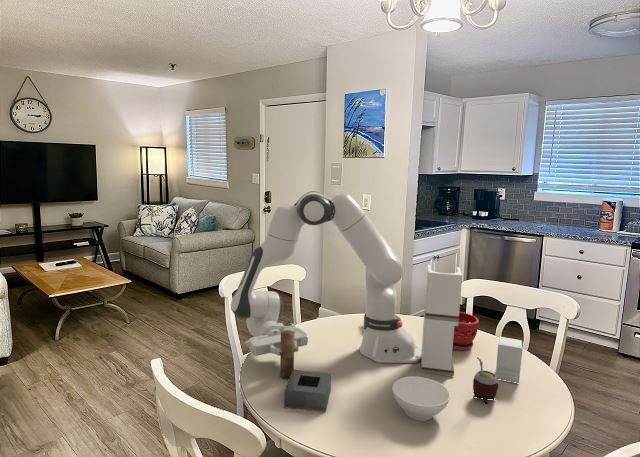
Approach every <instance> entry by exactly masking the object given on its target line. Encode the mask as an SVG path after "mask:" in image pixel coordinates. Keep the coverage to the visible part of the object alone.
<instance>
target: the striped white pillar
mask: <svg viewBox="0 0 640 457" xmlns="http://www.w3.org/2000/svg"><path fill="white" fill-rule="evenodd" d="M431 267H432V266H431V264H427V269H426V270H427V271H426V282H425V283H426V286H425V296H424V298H425V299H424V311H423V323H422V324H423V325H422V327H423V328H422V339H421V340H422V341H421V351H420V353H421V358H420V372H421V373H423V374H429V373H431V374H430V375H437V374H440V375H439V376H444V375H450V376H449V377H452V376H455V369H454V368H455V367H454V362H453V336H454V326H458V322H459V321H460V319H459V312H460V310H461V307H460V306H461V296H462V284H463V283H462V282H463V273H462V271H461V270H462V269H461V268H460V267H459V266H456V269H455V272H453V273H448V272H445V273H444V272H438V271H434V269H432V268H431Z"/></svg>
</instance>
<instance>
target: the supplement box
mask: <svg viewBox="0 0 640 457" xmlns="http://www.w3.org/2000/svg"><path fill="white" fill-rule="evenodd" d="M522 356H523V340H521V339H515V338H510V337H509V338H508V337H505V336H499V338H498V344H497V354H496V368H495V375H496V377H497V379H501V380H506V381H511V382H516V383H519V384H520V377H521V376H520V375H521V366H522V358H523V357H522Z"/></svg>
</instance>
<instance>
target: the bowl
mask: <svg viewBox="0 0 640 457" xmlns="http://www.w3.org/2000/svg"><path fill="white" fill-rule="evenodd" d="M391 388H392V394H393V396H394V400H395V401H396V402H397V404H398V405H399V406H400V407H401V409H403V411H405V413H406V415H407V416H408V417H409V418H411V419H413V420H416V421H421V422H426V421H429V420H431V419H432V418H434V417H435V416H437V415H438V414H440V413H441V412H442V411H443V410H445V408H447V406H448V404H449V403H450V400H451V393H450V391H449V389H448V388H447V387H446V386H445V385H444V384H442V383H440V381H436V380H434V379H432V378H427V377H423V376H404V377H400V378H399V379H397V380H395V381H394V382H393V384H392V387H391Z"/></svg>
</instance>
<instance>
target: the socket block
mask: <svg viewBox="0 0 640 457" xmlns="http://www.w3.org/2000/svg"><path fill="white" fill-rule="evenodd" d="M331 392H332V373H330V372H321V371H311V370H300V369H294V370H293V371H292V373H291V376H290V378H289V380H287V383H286V385H285V388H284V392H283V393H284V395H283V396H284V398H283V401H284V402H283V408H284V409H291V410H292V409H294V410H302V411H311V412H319V413H327V409H328V403H329V400H330V395H331Z"/></svg>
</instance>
